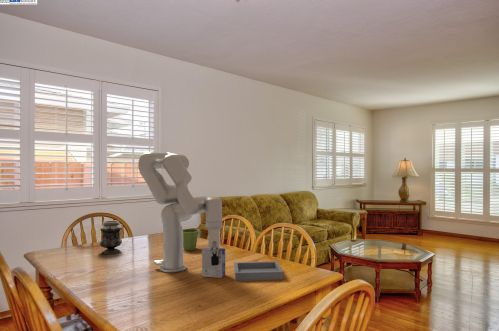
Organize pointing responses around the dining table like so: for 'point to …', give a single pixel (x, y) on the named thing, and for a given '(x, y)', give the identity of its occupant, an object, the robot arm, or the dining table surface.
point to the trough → (257, 271)
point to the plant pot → (190, 238)
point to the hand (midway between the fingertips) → (215, 262)
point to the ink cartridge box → (213, 270)
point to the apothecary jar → (110, 236)
